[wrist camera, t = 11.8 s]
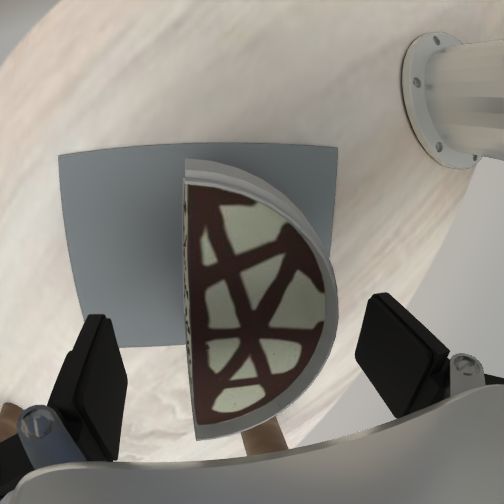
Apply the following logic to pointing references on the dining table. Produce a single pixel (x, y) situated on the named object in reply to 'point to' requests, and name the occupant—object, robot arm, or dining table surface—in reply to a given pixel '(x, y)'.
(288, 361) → the food container
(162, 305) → the charcoal mat
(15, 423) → the walnut post
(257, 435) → the walnut post
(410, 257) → the dining table surface
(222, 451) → the dining table surface
